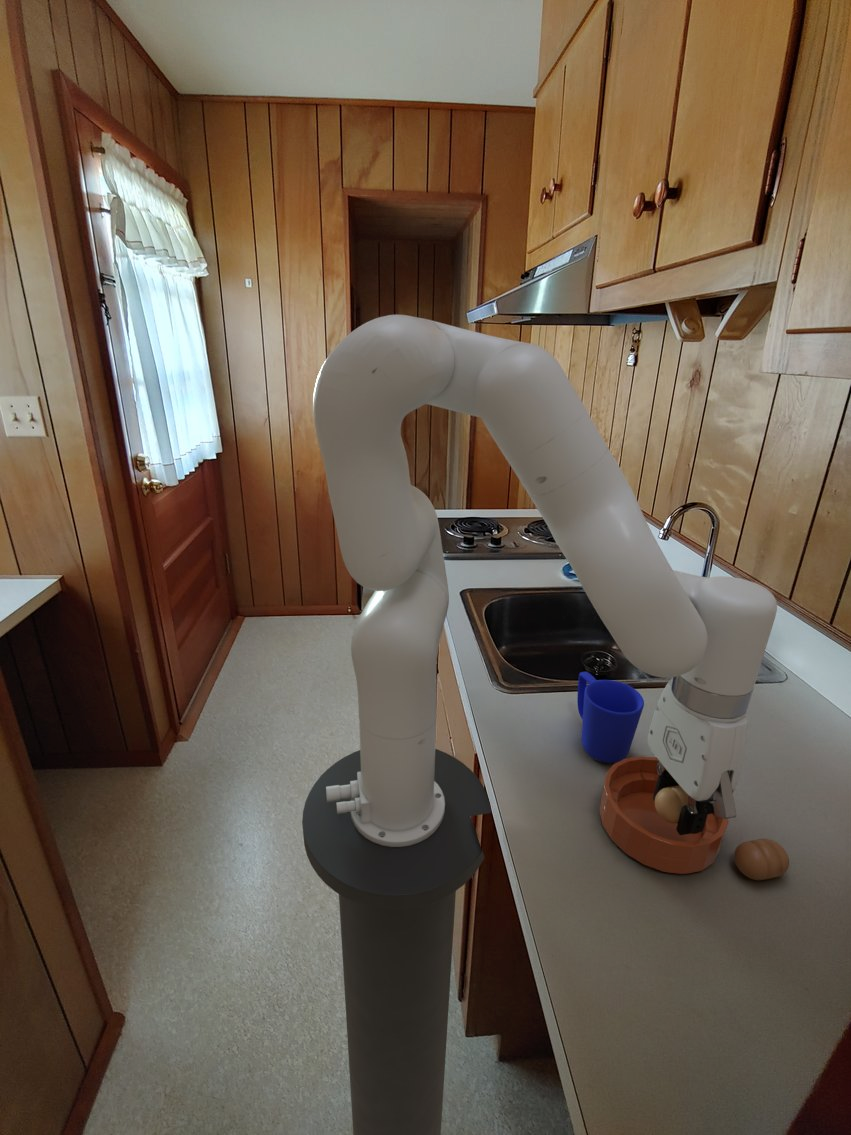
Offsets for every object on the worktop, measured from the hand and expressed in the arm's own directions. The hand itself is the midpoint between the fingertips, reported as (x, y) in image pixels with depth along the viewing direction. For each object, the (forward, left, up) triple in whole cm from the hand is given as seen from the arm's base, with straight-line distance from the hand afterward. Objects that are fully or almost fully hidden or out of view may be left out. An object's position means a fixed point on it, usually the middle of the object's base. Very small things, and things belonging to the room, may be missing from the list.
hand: (677, 814), depth 66 cm
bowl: (0, +3, -5) cm, 5 cm away
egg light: (0, 0, 0) cm, 0 cm away
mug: (0, +19, -5) cm, 19 cm away
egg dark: (+8, -5, -5) cm, 11 cm away
